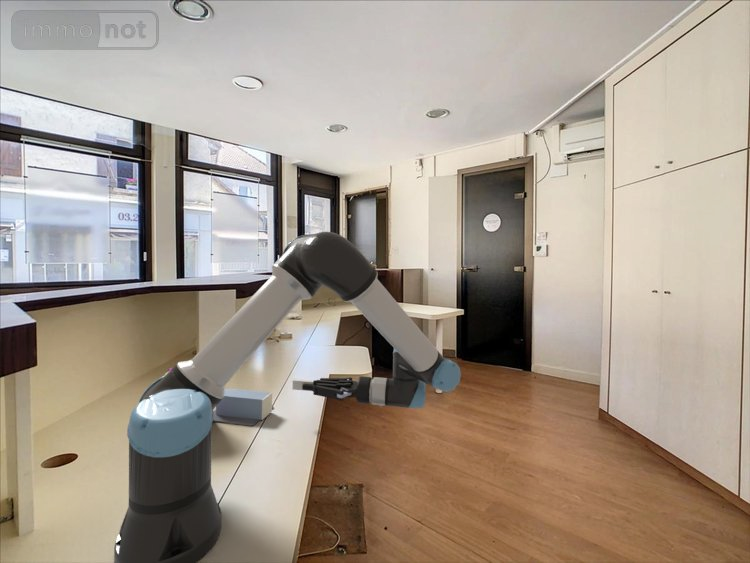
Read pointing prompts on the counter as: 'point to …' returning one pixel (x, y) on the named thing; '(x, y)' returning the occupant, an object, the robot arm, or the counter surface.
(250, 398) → the plain blue-gray rectangular block
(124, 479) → the counter surface
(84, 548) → the counter surface
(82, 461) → the counter surface
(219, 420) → the mat
